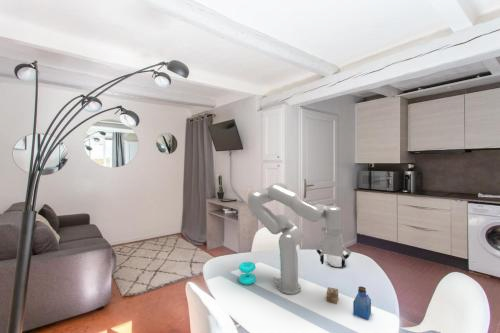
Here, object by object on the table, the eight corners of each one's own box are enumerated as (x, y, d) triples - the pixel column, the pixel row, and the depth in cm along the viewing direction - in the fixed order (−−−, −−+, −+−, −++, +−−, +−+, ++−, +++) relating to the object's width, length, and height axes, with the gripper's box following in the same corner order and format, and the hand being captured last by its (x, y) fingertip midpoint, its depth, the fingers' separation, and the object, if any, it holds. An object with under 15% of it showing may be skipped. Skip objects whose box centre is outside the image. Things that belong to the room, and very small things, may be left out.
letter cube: (326, 301, 123) (326, 291, 123) (328, 296, 127) (327, 286, 127) (337, 304, 121) (337, 293, 121) (338, 298, 125) (338, 288, 125)
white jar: (322, 264, 165) (322, 245, 165) (332, 259, 174) (332, 240, 174) (341, 271, 156) (341, 250, 155) (351, 264, 165) (350, 244, 164)
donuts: (240, 260, 151) (256, 261, 149) (241, 276, 151) (257, 277, 149) (236, 267, 141) (253, 268, 139) (237, 284, 141) (254, 286, 139)
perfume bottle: (356, 308, 117) (356, 283, 117) (370, 313, 113) (370, 287, 113) (353, 315, 112) (353, 289, 112) (368, 320, 108) (368, 293, 108)
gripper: (313, 231, 123) (313, 264, 124) (350, 236, 115) (350, 271, 116) (316, 227, 130) (316, 259, 131) (352, 231, 122) (351, 265, 123)
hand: (332, 265), depth 123 cm, fingers open, 9 cm apart
